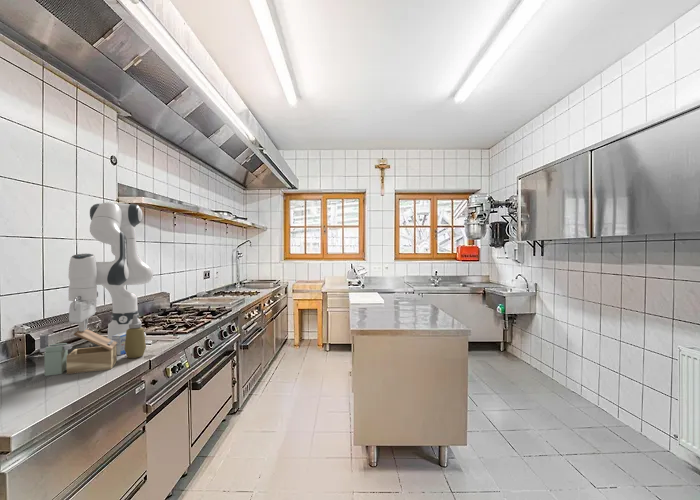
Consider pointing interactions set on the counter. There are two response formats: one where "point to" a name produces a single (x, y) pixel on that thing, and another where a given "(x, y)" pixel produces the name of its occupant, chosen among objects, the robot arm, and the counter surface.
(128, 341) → the squeeze bottle
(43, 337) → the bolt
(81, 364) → the crate
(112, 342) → the lid
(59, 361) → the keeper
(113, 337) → the medicine box
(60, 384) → the counter surface
